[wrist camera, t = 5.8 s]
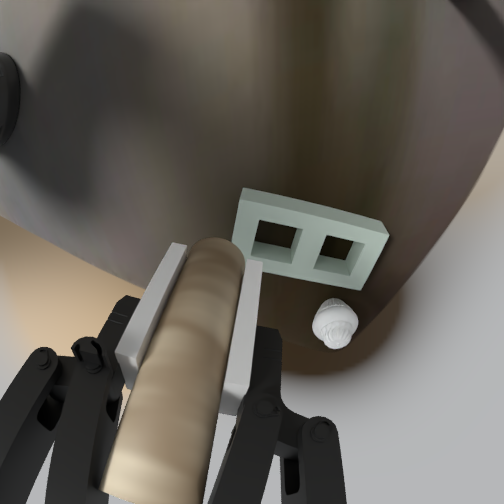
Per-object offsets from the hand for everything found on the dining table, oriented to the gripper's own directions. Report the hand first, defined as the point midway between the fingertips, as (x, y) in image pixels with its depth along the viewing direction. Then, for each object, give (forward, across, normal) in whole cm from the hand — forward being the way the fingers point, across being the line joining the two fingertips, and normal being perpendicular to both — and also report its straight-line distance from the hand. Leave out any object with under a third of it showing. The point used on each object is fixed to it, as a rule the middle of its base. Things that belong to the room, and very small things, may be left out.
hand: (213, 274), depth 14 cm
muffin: (+18, +15, -16) cm, 28 cm away
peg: (+1, 0, 0) cm, 1 cm away
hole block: (+17, +8, -6) cm, 20 cm away
